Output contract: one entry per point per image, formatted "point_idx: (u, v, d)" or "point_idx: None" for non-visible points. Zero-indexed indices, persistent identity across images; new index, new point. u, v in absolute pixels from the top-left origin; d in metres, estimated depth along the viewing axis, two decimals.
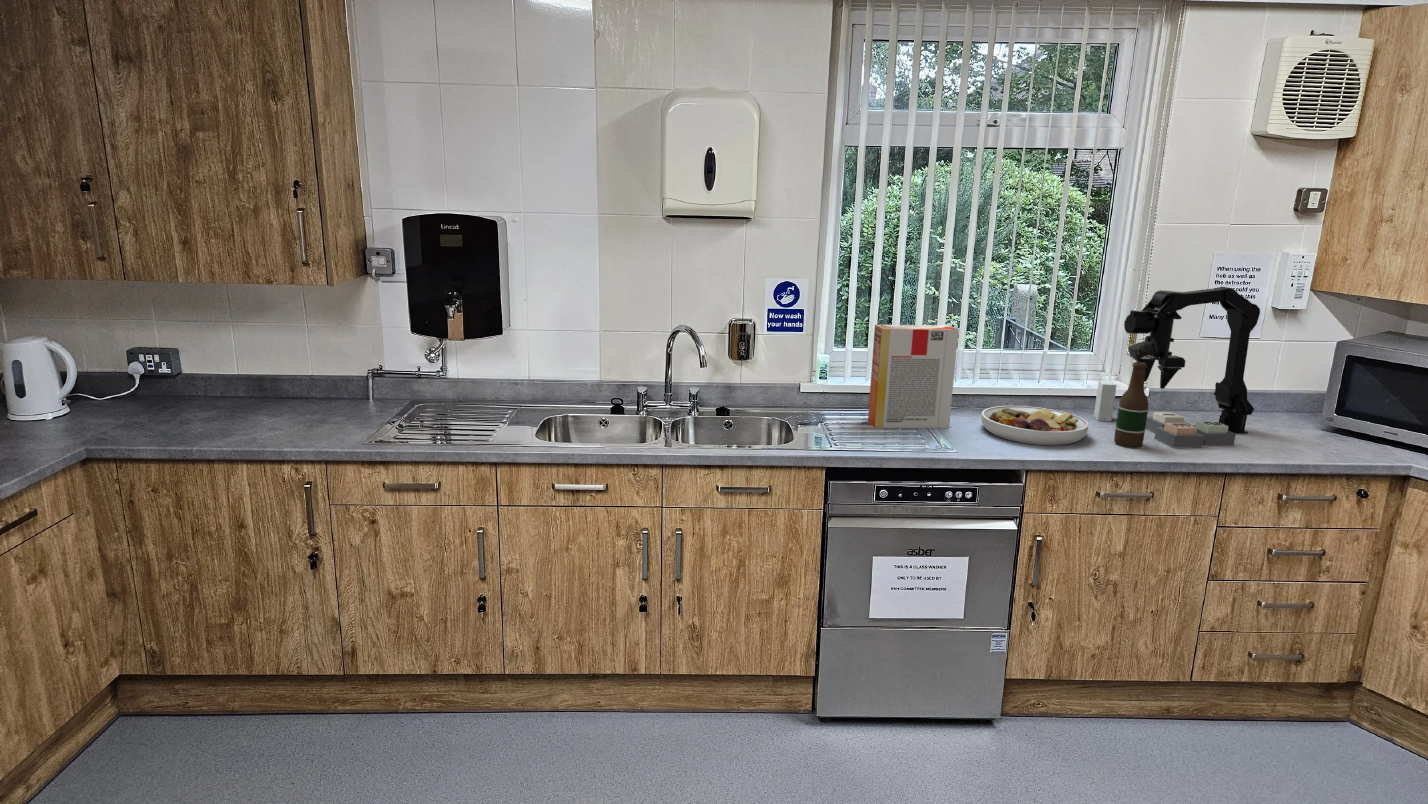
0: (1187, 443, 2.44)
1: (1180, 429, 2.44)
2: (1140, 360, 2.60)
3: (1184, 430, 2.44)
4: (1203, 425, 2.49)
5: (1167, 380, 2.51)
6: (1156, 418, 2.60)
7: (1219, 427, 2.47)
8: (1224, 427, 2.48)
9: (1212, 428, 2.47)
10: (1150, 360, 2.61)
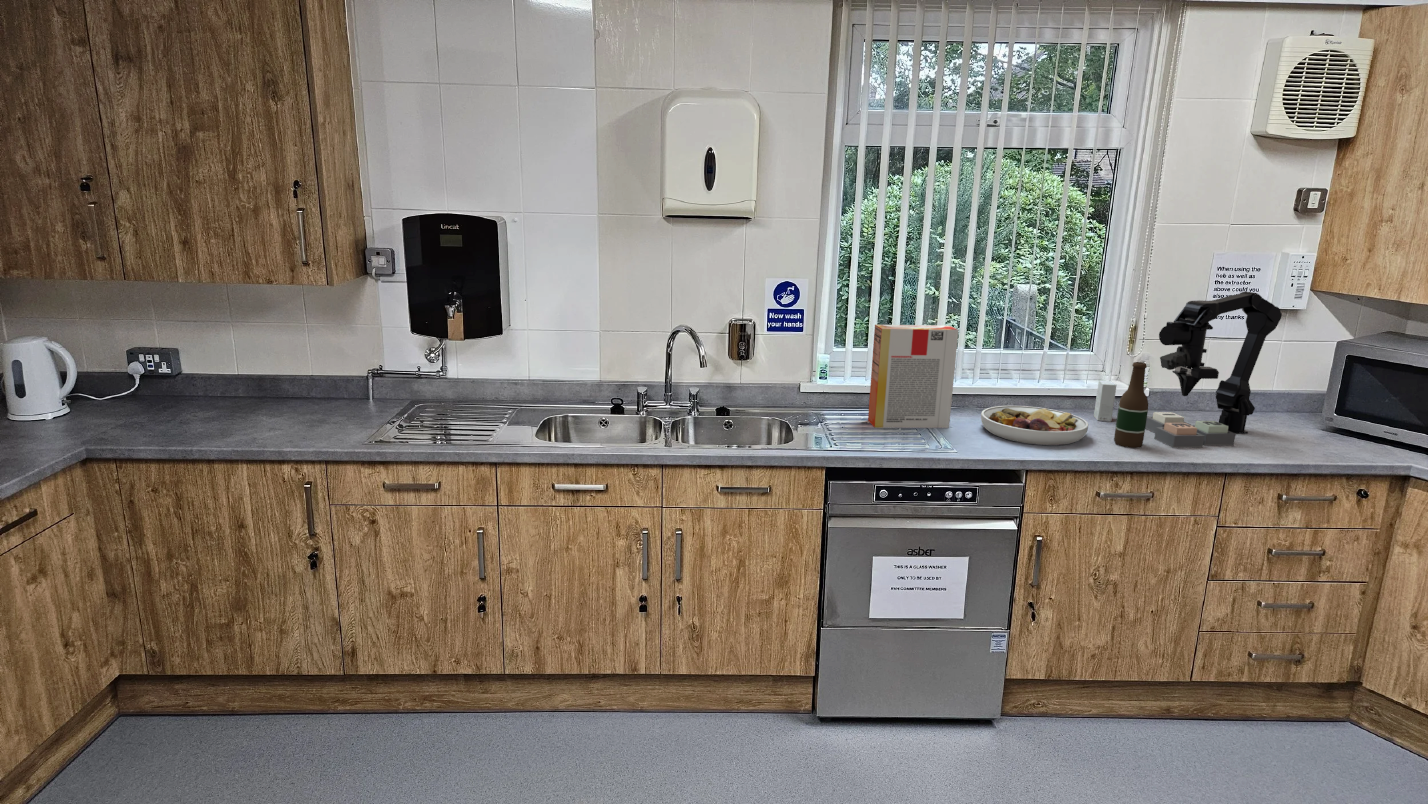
0: (1187, 443, 2.44)
1: (1180, 429, 2.44)
2: (1180, 374, 2.54)
3: (1184, 430, 2.44)
4: (1203, 425, 2.49)
5: (1190, 388, 2.53)
6: (1156, 418, 2.60)
7: (1219, 427, 2.47)
8: (1224, 427, 2.48)
9: (1212, 428, 2.47)
10: None
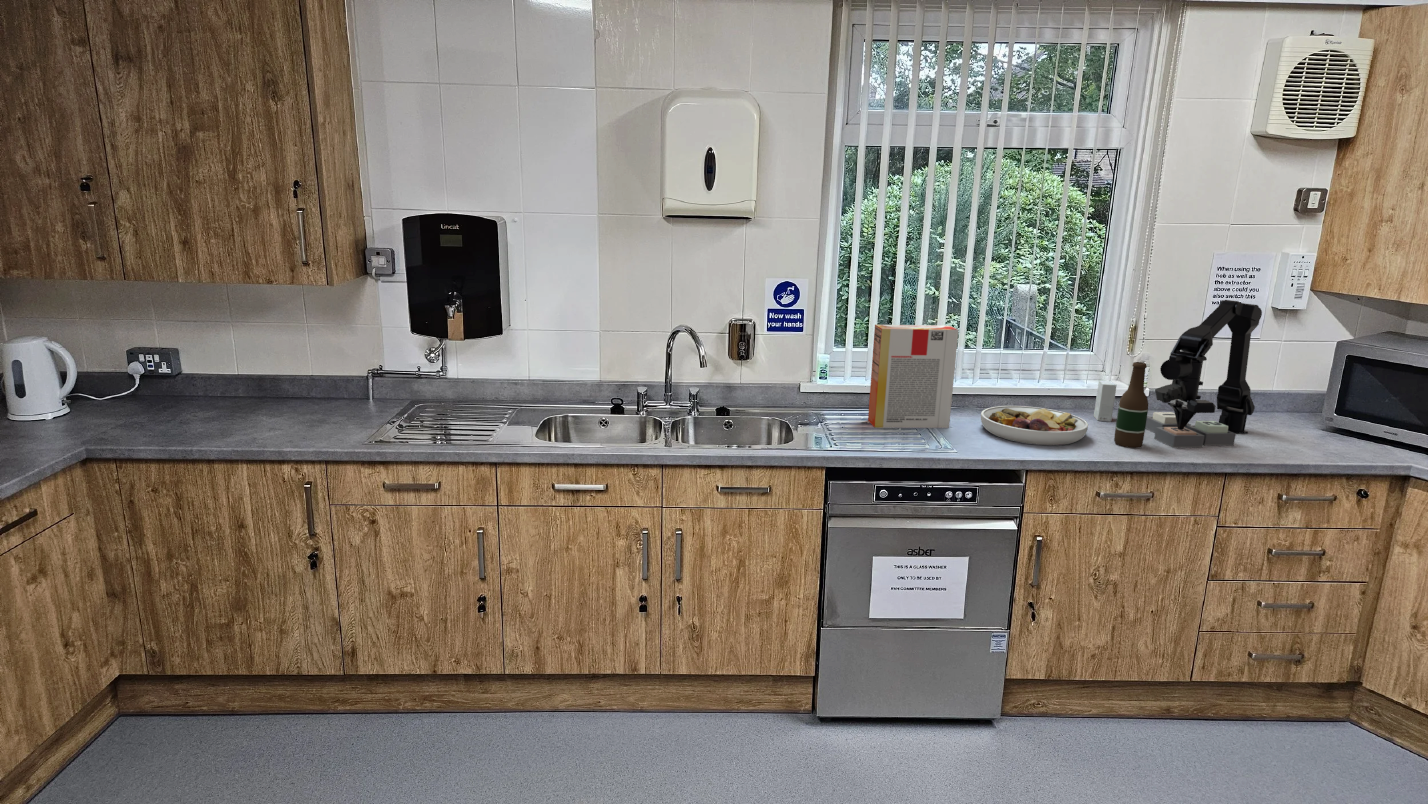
0: (1187, 443, 2.44)
1: (1179, 433, 2.45)
2: (1176, 406, 2.46)
3: None
4: (1203, 425, 2.49)
5: (1186, 421, 2.46)
6: (1156, 418, 2.60)
7: (1219, 427, 2.47)
8: (1224, 427, 2.48)
9: (1212, 428, 2.47)
10: None
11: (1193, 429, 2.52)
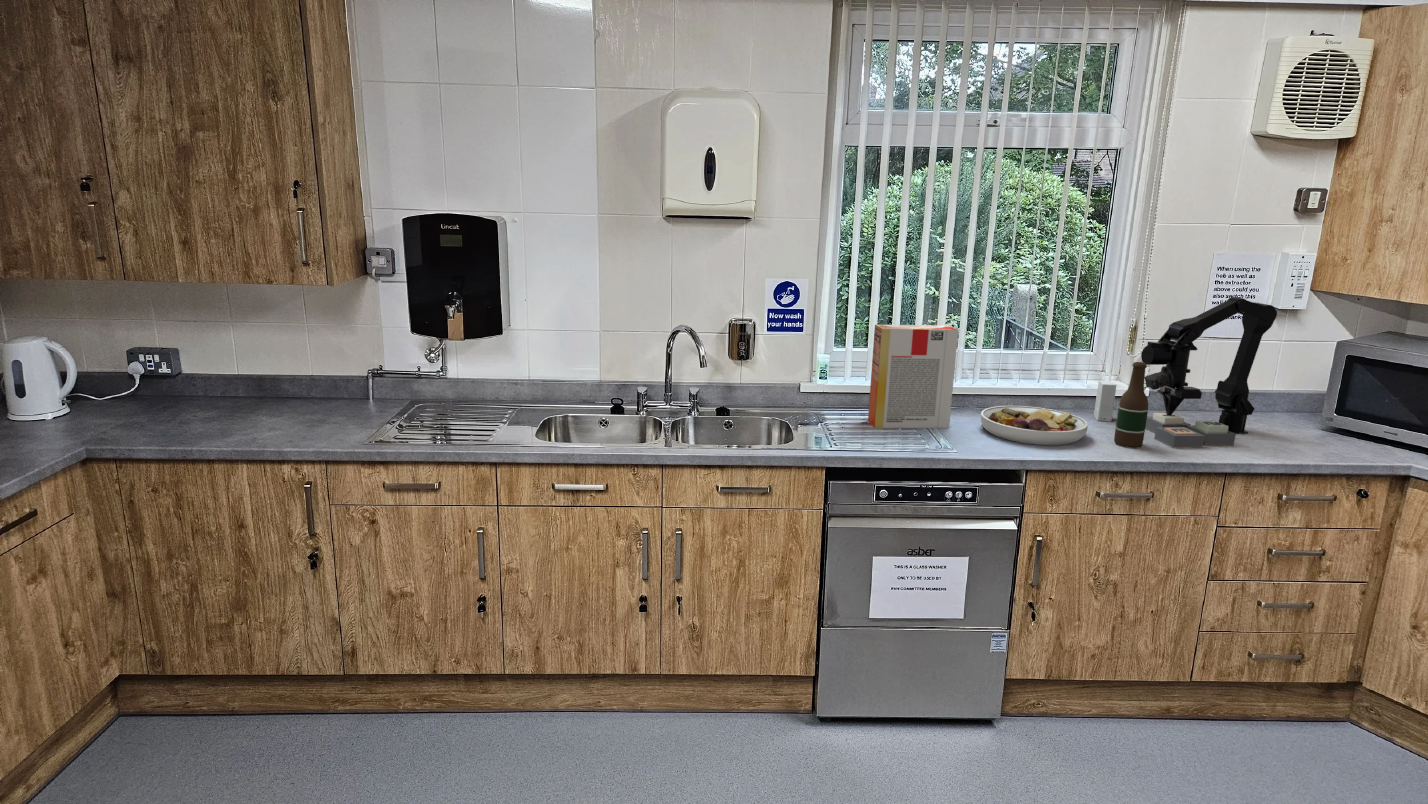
0: (1187, 443, 2.44)
1: (1179, 434, 2.45)
2: (1165, 393, 2.58)
3: None
4: (1203, 425, 2.49)
5: (1174, 407, 2.58)
6: (1156, 419, 2.60)
7: (1219, 427, 2.47)
8: (1224, 427, 2.48)
9: (1212, 428, 2.47)
10: None
11: (1193, 429, 2.52)
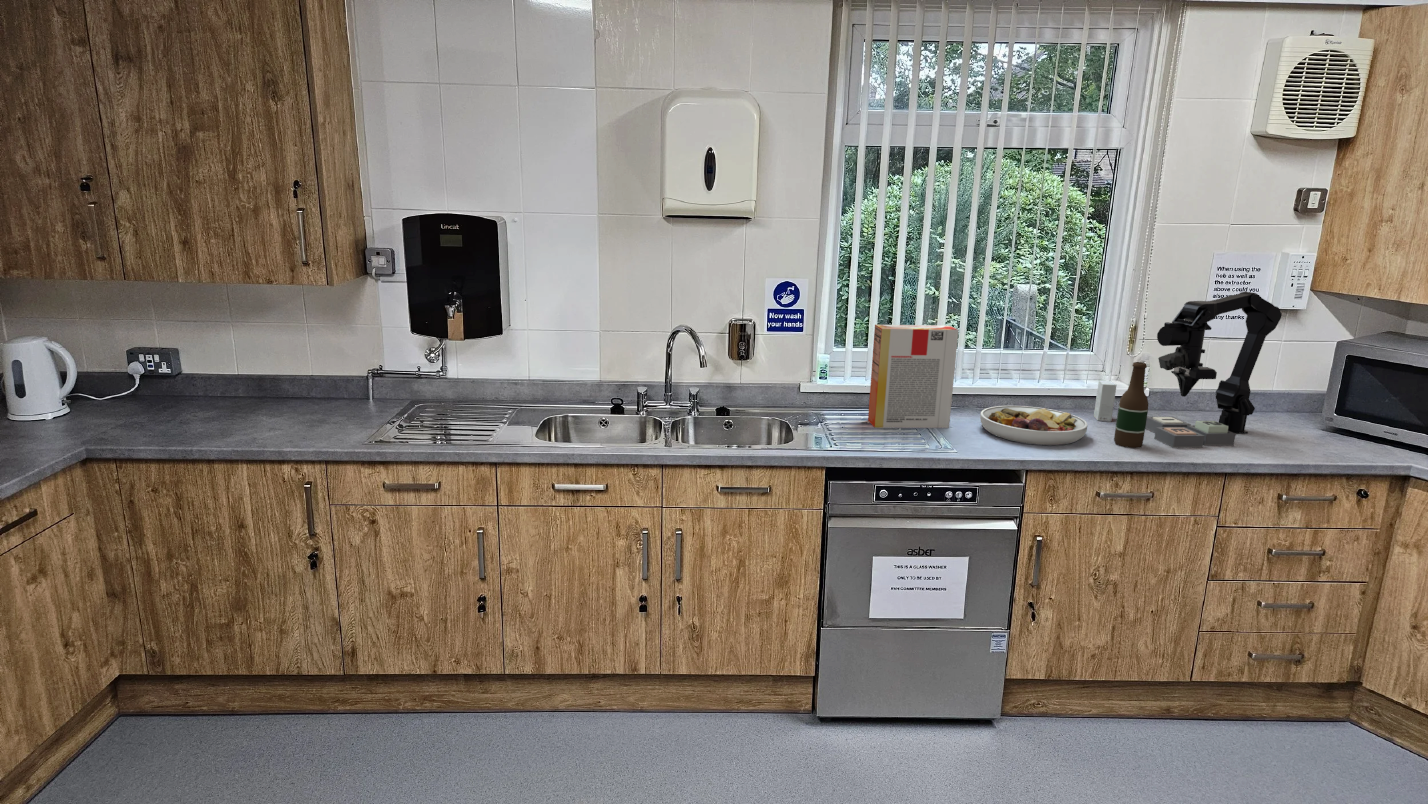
0: (1187, 443, 2.44)
1: (1179, 434, 2.45)
2: (1179, 374, 2.54)
3: None
4: (1203, 425, 2.49)
5: (1189, 388, 2.54)
6: None
7: (1219, 427, 2.47)
8: (1224, 427, 2.48)
9: (1212, 428, 2.47)
10: None
11: (1193, 429, 2.52)
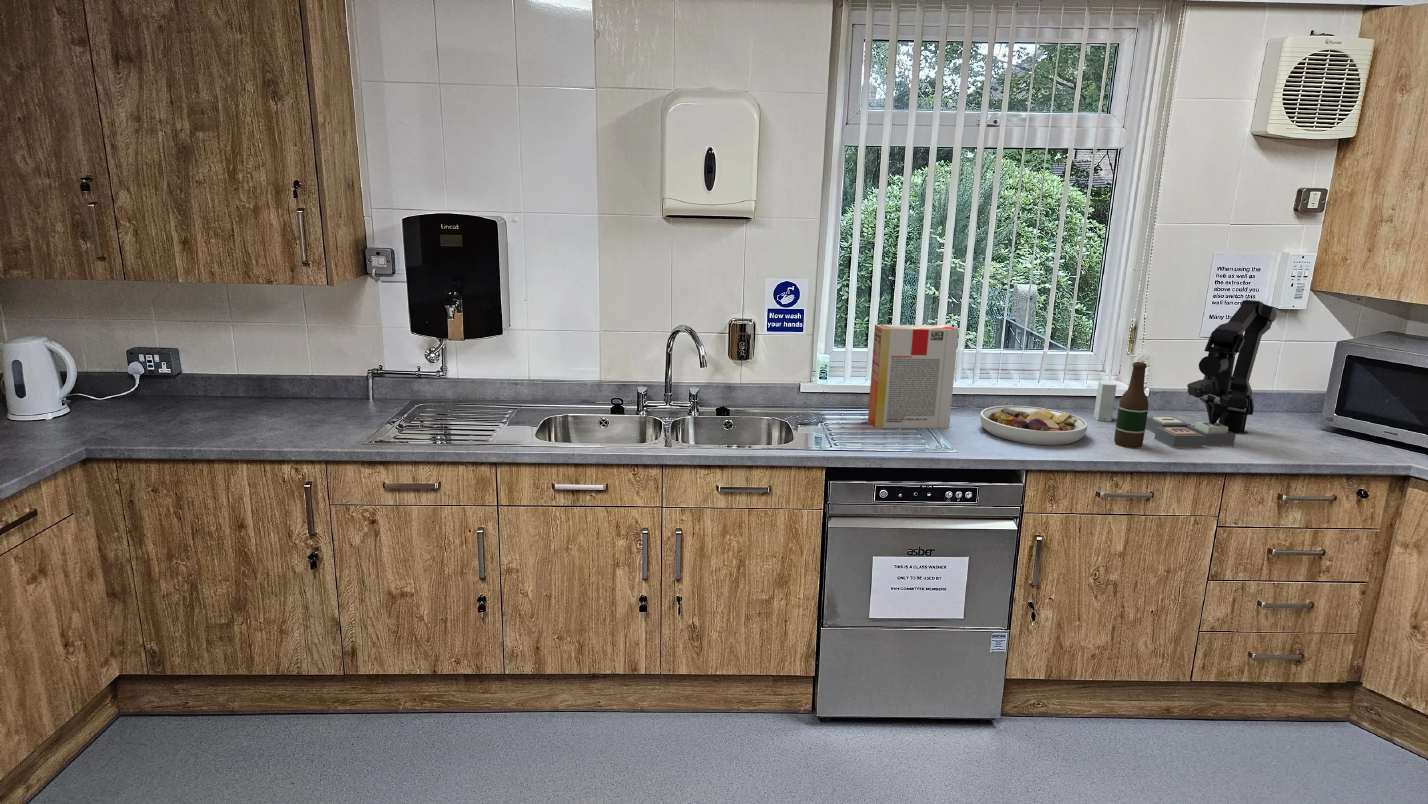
0: (1187, 443, 2.44)
1: (1179, 434, 2.45)
2: (1208, 401, 2.49)
3: None
4: (1203, 426, 2.50)
5: (1218, 416, 2.49)
6: None
7: (1219, 428, 2.48)
8: (1224, 428, 2.48)
9: (1212, 429, 2.47)
10: None
11: (1193, 429, 2.52)
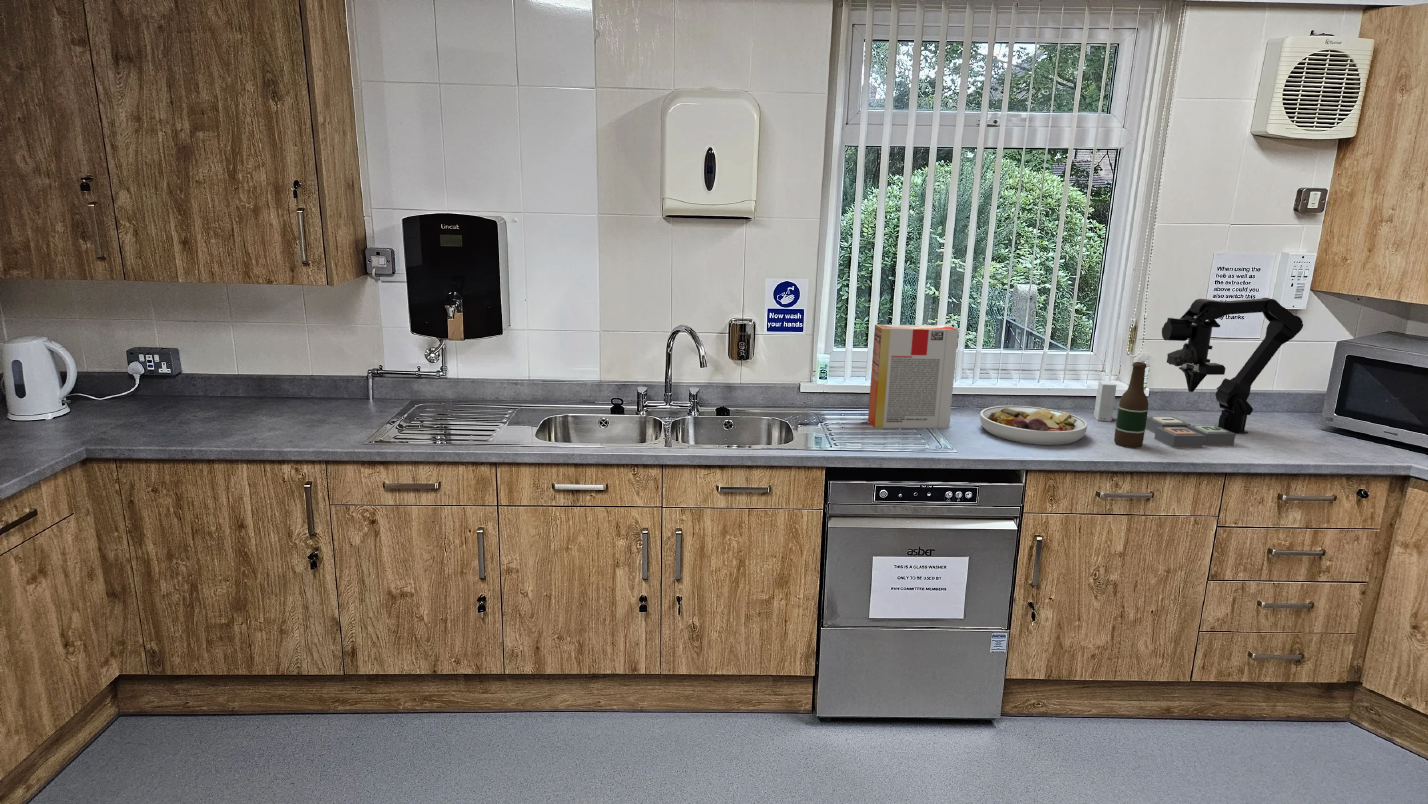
0: (1187, 443, 2.44)
1: (1179, 434, 2.45)
2: (1187, 370, 2.60)
3: None
4: (1202, 430, 2.50)
5: (1196, 384, 2.59)
6: None
7: (1218, 432, 2.48)
8: (1223, 432, 2.48)
9: None
10: None
11: (1193, 429, 2.52)
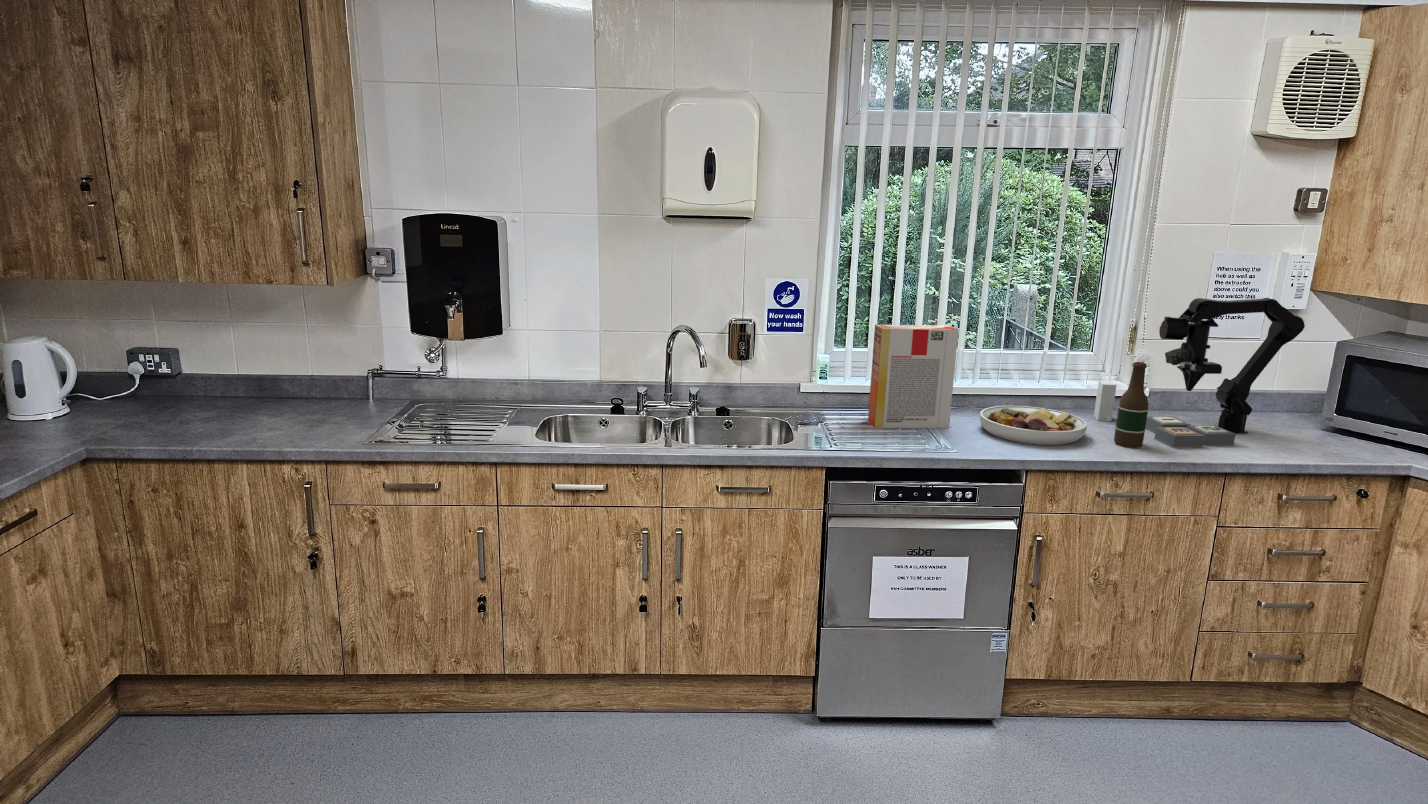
0: (1187, 443, 2.44)
1: (1179, 434, 2.45)
2: (1184, 369, 2.61)
3: None
4: (1202, 430, 2.50)
5: (1194, 383, 2.61)
6: None
7: (1218, 432, 2.48)
8: (1223, 432, 2.48)
9: None
10: None
11: (1193, 429, 2.52)
